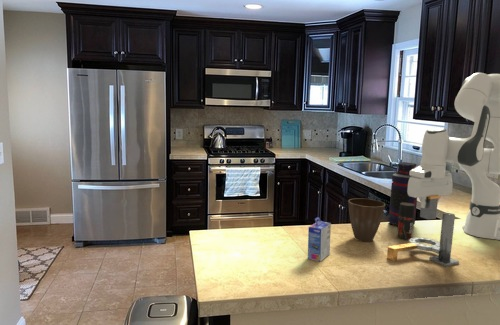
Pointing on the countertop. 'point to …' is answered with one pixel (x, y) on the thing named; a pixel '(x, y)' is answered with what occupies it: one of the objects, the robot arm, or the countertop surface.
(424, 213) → the grey lidded jar
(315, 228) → the ink cartridge box
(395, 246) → the post
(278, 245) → the countertop surface
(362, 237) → the plant pot
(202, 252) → the countertop surface
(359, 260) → the countertop surface
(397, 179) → the thermos bottle
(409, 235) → the deodorant
